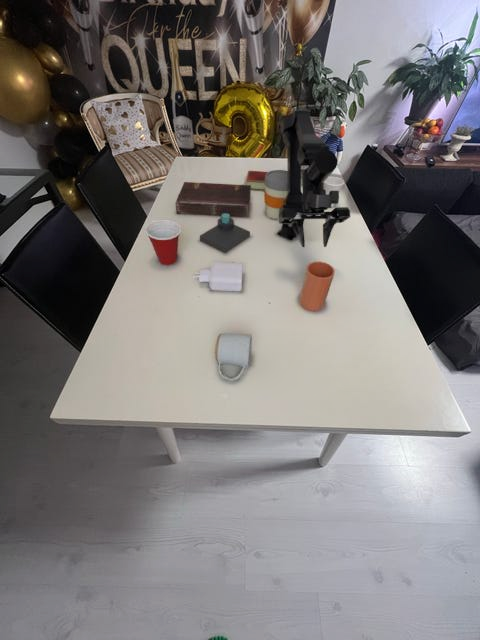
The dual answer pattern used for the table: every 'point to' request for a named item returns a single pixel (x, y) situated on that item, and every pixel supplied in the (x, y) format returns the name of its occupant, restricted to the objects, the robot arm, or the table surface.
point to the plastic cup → (164, 239)
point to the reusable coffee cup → (275, 192)
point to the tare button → (225, 218)
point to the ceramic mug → (233, 351)
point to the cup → (316, 285)
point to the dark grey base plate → (224, 236)
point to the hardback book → (214, 199)
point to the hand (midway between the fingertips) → (314, 246)
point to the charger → (223, 276)
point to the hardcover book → (256, 180)
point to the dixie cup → (333, 185)
